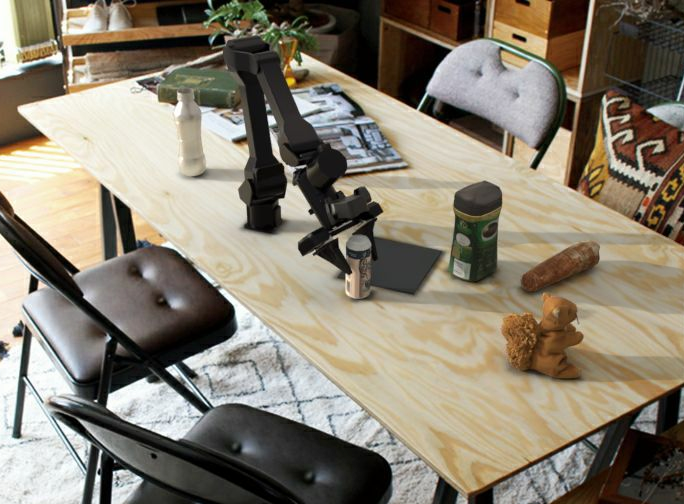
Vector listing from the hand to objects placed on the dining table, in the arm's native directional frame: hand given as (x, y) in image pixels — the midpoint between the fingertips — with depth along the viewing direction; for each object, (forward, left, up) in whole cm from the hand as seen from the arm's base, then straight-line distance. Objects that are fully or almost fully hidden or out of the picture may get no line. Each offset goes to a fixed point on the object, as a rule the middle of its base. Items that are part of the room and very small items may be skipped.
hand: (363, 267), depth 195 cm
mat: (+1, +14, -7) cm, 15 cm away
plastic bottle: (-56, +35, -7) cm, 66 cm away
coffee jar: (+17, +18, -7) cm, 25 cm away
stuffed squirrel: (+37, -8, -7) cm, 38 cm away
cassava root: (+34, +22, -7) cm, 41 cm away
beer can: (-1, +1, -7) cm, 7 cm away
